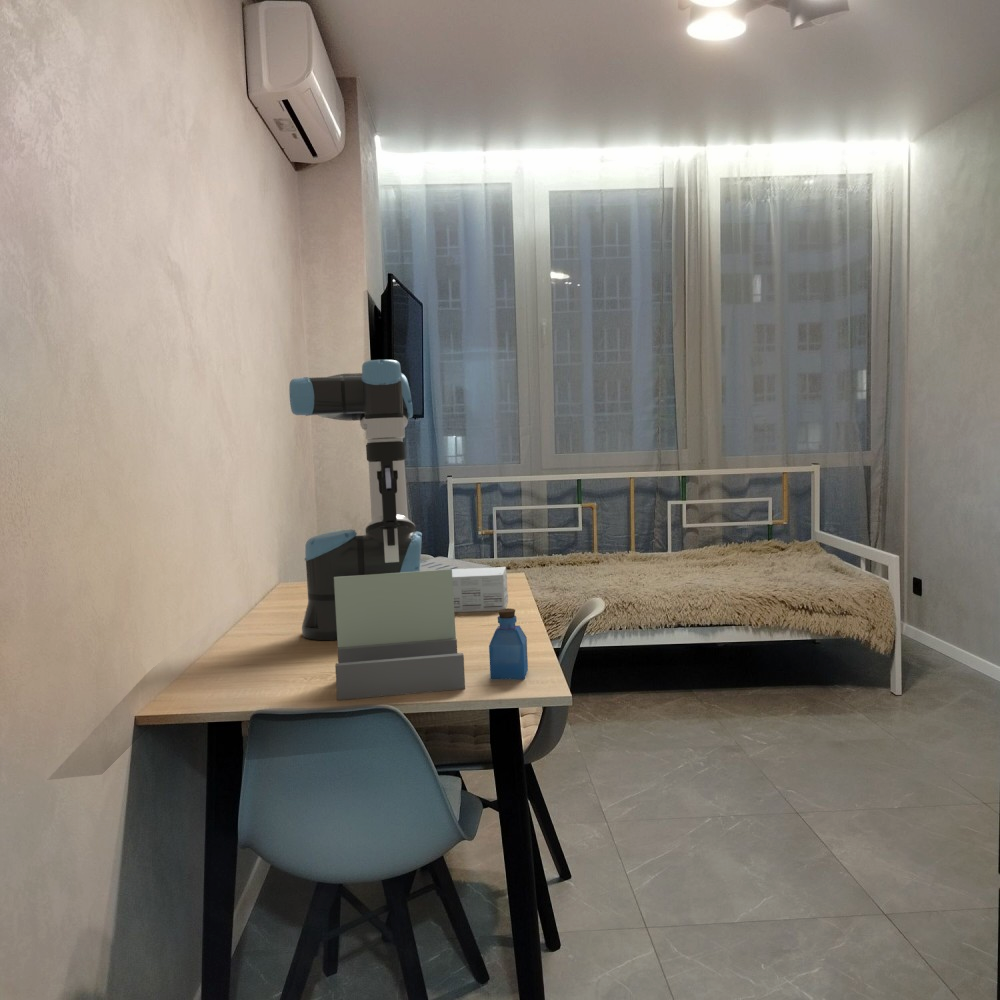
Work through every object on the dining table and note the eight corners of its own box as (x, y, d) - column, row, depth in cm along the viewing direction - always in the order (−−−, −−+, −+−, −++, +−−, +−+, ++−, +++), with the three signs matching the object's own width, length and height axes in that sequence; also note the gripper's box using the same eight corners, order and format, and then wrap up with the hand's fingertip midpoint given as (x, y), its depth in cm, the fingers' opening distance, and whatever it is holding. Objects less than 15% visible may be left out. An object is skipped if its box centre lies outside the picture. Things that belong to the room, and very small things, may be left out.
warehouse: (399, 586, 259) (398, 561, 259) (441, 580, 267) (440, 556, 267) (450, 600, 235) (449, 572, 234) (494, 592, 243) (493, 566, 242)
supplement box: (508, 601, 229) (506, 566, 228) (505, 611, 215) (503, 574, 215) (445, 602, 230) (443, 568, 229) (438, 613, 217) (436, 576, 216)
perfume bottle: (524, 679, 155) (521, 613, 154) (490, 679, 156) (487, 614, 155) (527, 669, 161) (525, 606, 160) (495, 670, 162) (492, 607, 161)
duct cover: (337, 648, 160) (338, 647, 161) (455, 639, 163) (455, 638, 164) (333, 577, 160) (334, 577, 161) (451, 569, 163) (451, 569, 164)
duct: (339, 679, 160) (337, 647, 160) (457, 669, 163) (455, 638, 163) (337, 700, 147) (335, 665, 147) (465, 688, 150) (463, 655, 150)
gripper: (365, 441, 172) (372, 558, 174) (365, 441, 160) (372, 567, 161) (403, 440, 174) (409, 556, 175) (406, 439, 161) (413, 565, 162)
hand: (392, 561), depth 168 cm, fingers closed
